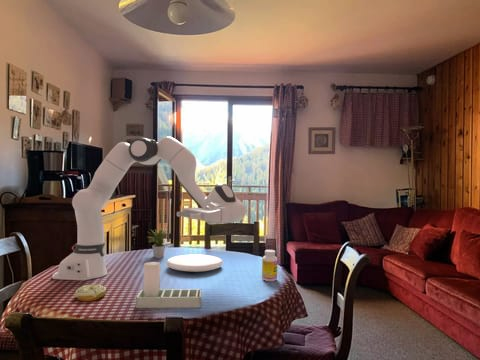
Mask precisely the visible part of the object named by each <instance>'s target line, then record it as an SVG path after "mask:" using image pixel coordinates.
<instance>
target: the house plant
mask: <svg viewBox="0 0 480 360" xmlns="http://www.w3.org/2000/svg"><path fill="white" fill-rule="evenodd" d="M149 230H150V231H151V232H152V233H151V232H148V234H149V235H150V236H147V238H149V239H147V240H148V243H151V242H152V243H154V244H153V245H152V248H151V249H152V254H153V258H155V259H159V258H160V259H161V258H164V256H165V249H166V244H164V243H165V241H166V240H167V239H171V238H170V237H167V238H165V237H166V236H167V234H166V233H167V232H166V230H163V228H162V227H160V228H159V230H158V232H157V230H156V229H154V230H152V229H149ZM154 231H155V232H154ZM164 238H165V239H164Z"/></svg>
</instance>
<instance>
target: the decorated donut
mask: <svg viewBox="0 0 480 360" xmlns="http://www.w3.org/2000/svg"><path fill="white" fill-rule="evenodd" d="M106 292H107V288H106V287H105V286H104V285H101V284H86V285H83V286H80V287H78V288H77V289H76V290H75V292H74V297H75V299H78V300H79V301H80V302H86V301H88V302H93V300H94V301H97V299H98V300H100V299H102V298H103V297H104V296H105V295H106ZM101 297H102V298H101ZM99 298H100V299H99Z"/></svg>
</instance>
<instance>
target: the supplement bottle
mask: <svg viewBox="0 0 480 360" xmlns="http://www.w3.org/2000/svg"><path fill="white" fill-rule="evenodd" d="M261 261H262V266H261V267H262V270H261V278H262V279H261V280H262V281H264V280H265V281H264V282H276V281H277V279H278V257H277V256H276V250H274V249H265V250H264V255H263V257H262V258H261ZM275 280H276V281H275Z"/></svg>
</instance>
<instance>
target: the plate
mask: <svg viewBox="0 0 480 360" xmlns="http://www.w3.org/2000/svg"><path fill="white" fill-rule="evenodd" d="M166 265H167V267H168V268H170V269H173V270H174V271H175V270H176V271H182V272H189V273H190V272H192V273H194V272H195V273H200V272H208V271H213V270H217V269H219V268H220V267H222V266H223V260H222V258H221V257H217V256H214V255H209V254H200V253H194V254H193V253H192V254H190V253H189V254H183V255H182V254H181V255H175V256H172V257H169V258H168V259H167V262H166Z"/></svg>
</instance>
